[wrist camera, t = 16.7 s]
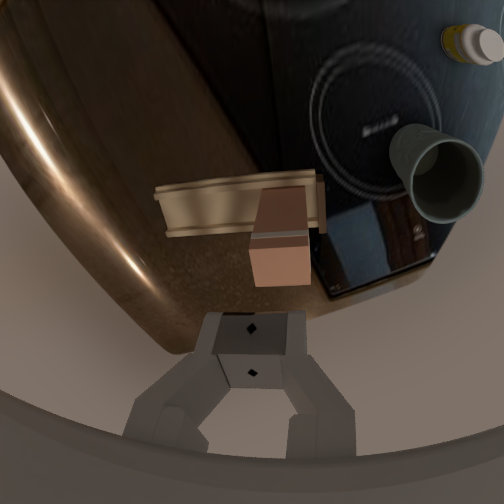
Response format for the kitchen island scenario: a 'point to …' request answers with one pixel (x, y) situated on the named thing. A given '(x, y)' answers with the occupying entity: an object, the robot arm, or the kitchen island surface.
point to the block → (281, 238)
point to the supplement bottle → (472, 44)
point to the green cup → (437, 172)
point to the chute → (233, 201)
